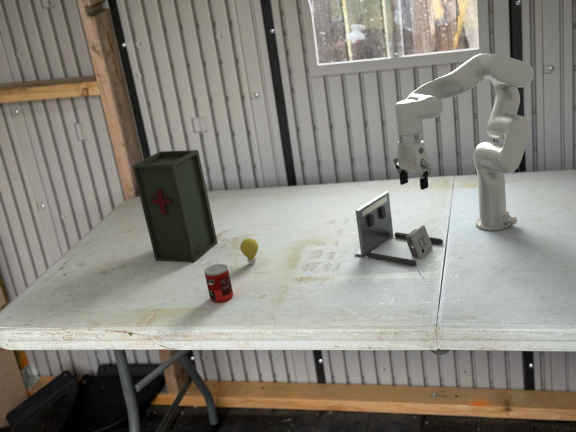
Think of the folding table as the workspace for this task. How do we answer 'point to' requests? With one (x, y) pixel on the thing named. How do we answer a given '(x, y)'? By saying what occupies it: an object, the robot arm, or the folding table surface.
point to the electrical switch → (419, 242)
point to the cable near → (391, 259)
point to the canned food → (218, 283)
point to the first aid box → (176, 205)
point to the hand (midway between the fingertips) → (414, 186)
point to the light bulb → (249, 250)
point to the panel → (374, 224)
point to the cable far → (433, 240)
